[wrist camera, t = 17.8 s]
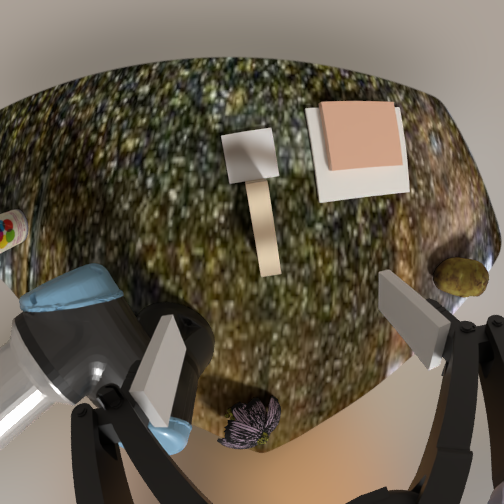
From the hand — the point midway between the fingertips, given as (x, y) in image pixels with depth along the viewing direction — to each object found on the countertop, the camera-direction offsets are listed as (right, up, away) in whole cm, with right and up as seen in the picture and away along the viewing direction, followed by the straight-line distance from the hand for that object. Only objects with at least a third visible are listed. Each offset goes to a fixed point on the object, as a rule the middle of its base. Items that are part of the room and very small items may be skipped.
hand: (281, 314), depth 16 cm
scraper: (-1, +12, +22) cm, 25 cm away
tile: (+15, +16, +20) cm, 30 cm away
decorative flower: (-2, -31, +37) cm, 48 cm away
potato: (+39, 0, +28) cm, 48 cm away
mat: (+15, +19, +20) cm, 32 cm away
